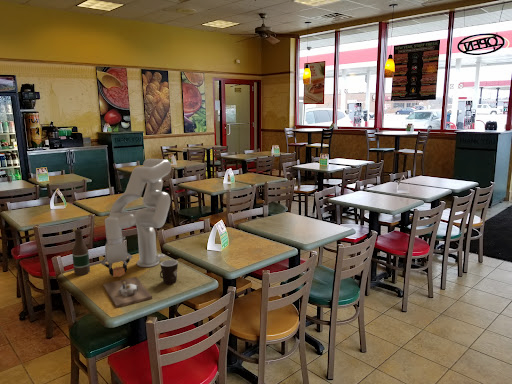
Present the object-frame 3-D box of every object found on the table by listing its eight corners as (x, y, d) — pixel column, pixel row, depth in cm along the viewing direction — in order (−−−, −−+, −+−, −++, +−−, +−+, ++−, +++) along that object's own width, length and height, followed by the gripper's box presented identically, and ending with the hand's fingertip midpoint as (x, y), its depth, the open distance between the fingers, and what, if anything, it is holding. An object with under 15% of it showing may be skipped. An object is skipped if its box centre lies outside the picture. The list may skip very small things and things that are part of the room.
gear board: (136, 278, 202) (135, 268, 201) (152, 298, 181) (151, 286, 180) (103, 286, 194) (102, 275, 193) (116, 307, 172) (115, 295, 171)
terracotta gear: (122, 270, 208) (122, 265, 207) (126, 274, 203) (125, 269, 202) (111, 273, 205) (110, 268, 204) (114, 277, 200) (113, 272, 199)
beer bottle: (74, 276, 206) (70, 232, 201) (74, 271, 212) (69, 228, 208) (90, 273, 209) (86, 230, 204) (89, 268, 216) (85, 226, 211)
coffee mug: (172, 276, 205) (171, 258, 203) (182, 281, 199) (181, 262, 197) (152, 283, 197) (151, 264, 195) (161, 288, 191) (160, 269, 189)
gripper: (130, 235, 207) (133, 266, 211) (95, 241, 198) (99, 275, 202) (134, 239, 201) (137, 271, 205) (98, 246, 192) (102, 280, 196)
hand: (118, 273), depth 204 cm, fingers closed on terracotta gear, 6 cm apart
